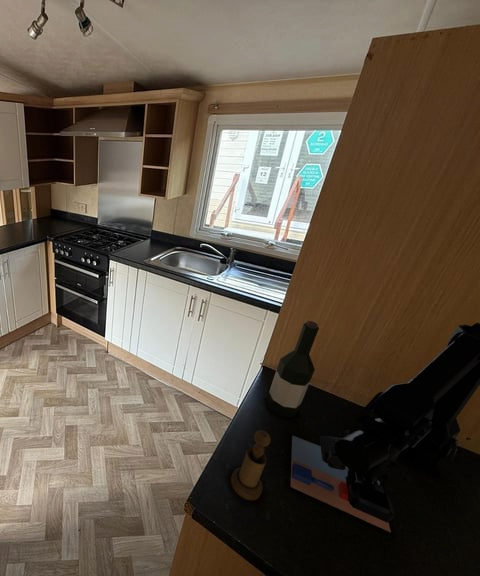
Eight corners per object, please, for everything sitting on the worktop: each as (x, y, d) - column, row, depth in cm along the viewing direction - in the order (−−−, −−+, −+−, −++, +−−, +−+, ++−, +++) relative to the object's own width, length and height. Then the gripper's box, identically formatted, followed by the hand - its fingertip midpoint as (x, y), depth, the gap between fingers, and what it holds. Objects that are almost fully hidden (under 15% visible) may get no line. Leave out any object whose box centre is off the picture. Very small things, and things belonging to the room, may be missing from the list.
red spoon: (383, 505, 68) (387, 500, 67) (386, 518, 65) (390, 513, 64) (338, 485, 71) (340, 481, 71) (339, 497, 69) (342, 492, 68)
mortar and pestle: (264, 504, 69) (286, 451, 61) (233, 498, 70) (251, 445, 62) (256, 475, 75) (275, 423, 67) (228, 470, 76) (243, 418, 68)
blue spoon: (332, 484, 72) (335, 480, 72) (333, 496, 70) (336, 491, 69) (292, 467, 76) (294, 462, 75) (291, 477, 74) (294, 473, 73)
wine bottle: (297, 404, 95) (331, 320, 82) (296, 423, 89) (332, 336, 75) (267, 393, 99) (294, 312, 86) (264, 410, 93) (292, 326, 79)
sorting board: (375, 469, 76) (376, 468, 76) (389, 533, 64) (390, 532, 64) (291, 436, 85) (292, 435, 84) (289, 488, 72) (290, 486, 72)
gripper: (327, 400, 73) (306, 445, 80) (333, 466, 59) (307, 513, 66) (388, 420, 68) (360, 466, 75) (411, 497, 54) (374, 545, 60)
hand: (349, 494), depth 69 cm, fingers closed on red spoon, 3 cm apart
